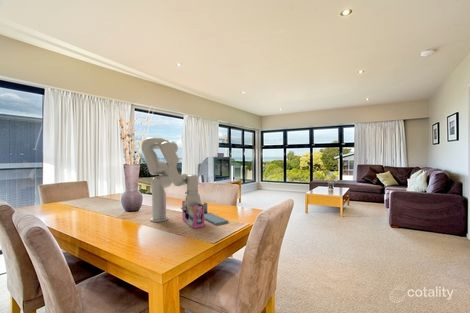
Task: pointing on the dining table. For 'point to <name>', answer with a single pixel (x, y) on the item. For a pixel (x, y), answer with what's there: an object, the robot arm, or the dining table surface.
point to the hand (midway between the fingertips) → (193, 217)
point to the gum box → (194, 215)
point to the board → (214, 219)
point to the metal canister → (205, 208)
